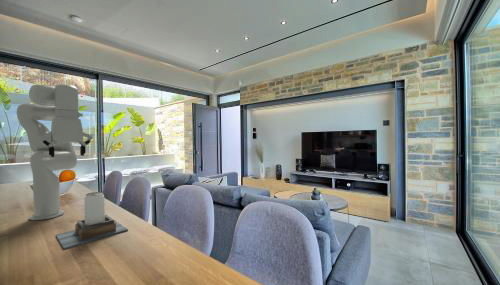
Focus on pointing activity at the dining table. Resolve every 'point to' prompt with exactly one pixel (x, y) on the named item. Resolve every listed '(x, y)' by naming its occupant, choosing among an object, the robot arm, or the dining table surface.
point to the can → (94, 208)
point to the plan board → (77, 241)
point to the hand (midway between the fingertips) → (68, 156)
